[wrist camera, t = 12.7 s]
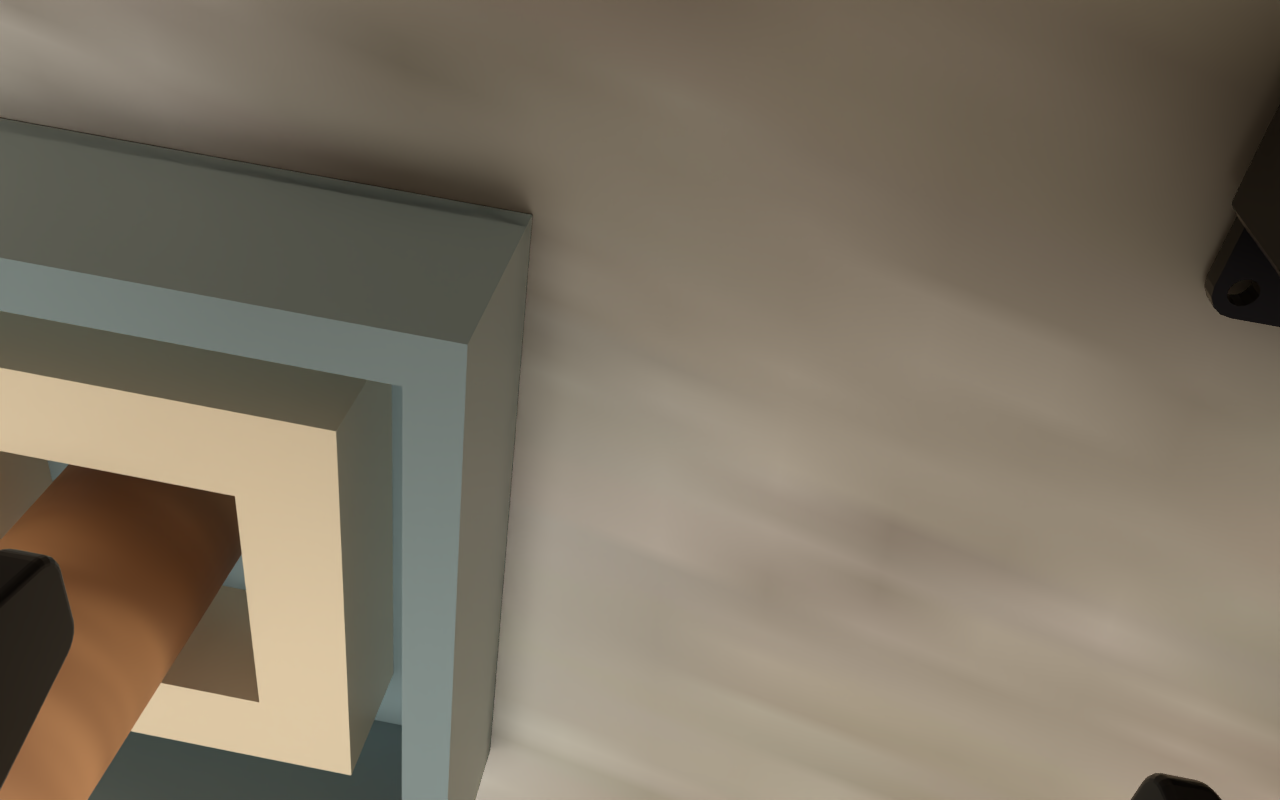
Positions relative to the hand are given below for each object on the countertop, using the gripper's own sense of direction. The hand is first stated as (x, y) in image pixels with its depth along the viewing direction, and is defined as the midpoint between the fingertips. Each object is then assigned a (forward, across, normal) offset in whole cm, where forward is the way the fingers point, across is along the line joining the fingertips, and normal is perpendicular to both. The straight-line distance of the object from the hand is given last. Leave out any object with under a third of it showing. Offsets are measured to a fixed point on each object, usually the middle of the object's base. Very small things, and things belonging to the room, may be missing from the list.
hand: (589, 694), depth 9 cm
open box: (+12, +10, +10) cm, 19 cm away
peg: (+12, +10, +10) cm, 18 cm away
